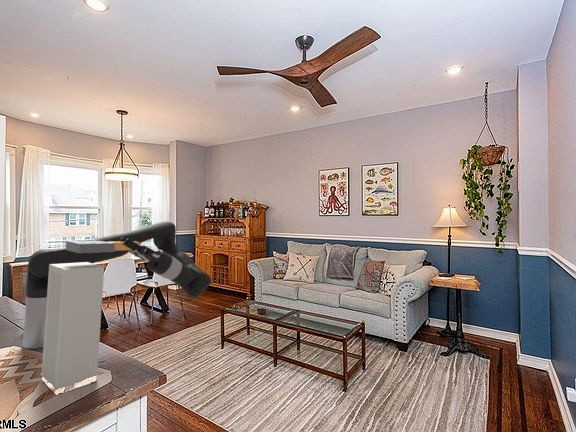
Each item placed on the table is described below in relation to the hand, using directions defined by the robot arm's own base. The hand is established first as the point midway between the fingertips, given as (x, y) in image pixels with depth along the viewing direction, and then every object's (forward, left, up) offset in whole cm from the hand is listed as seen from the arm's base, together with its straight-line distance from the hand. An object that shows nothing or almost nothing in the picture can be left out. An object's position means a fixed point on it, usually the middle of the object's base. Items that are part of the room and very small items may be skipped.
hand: (122, 240), depth 97 cm
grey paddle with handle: (0, -5, -3) cm, 5 cm away
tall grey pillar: (-1, -12, -39) cm, 41 cm away
